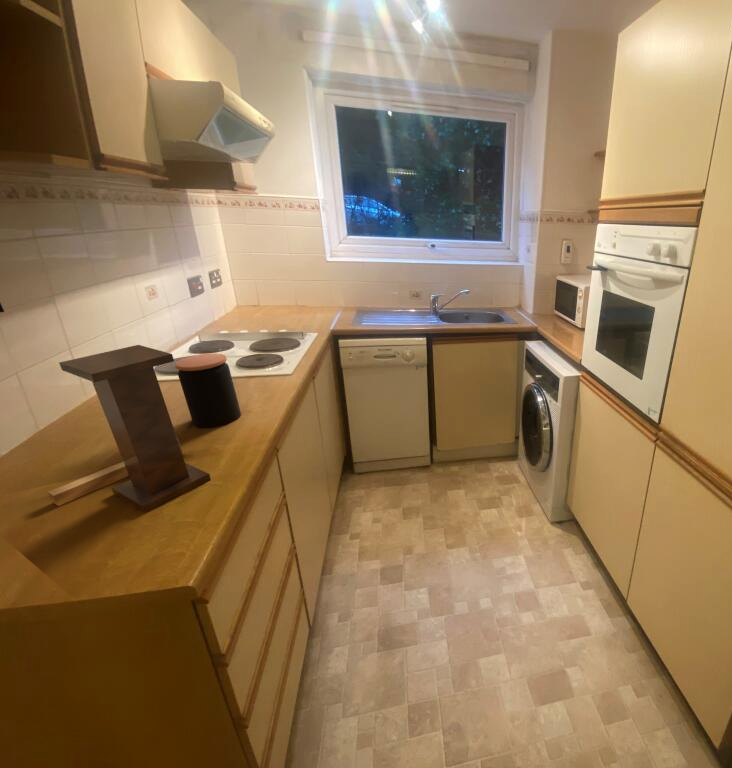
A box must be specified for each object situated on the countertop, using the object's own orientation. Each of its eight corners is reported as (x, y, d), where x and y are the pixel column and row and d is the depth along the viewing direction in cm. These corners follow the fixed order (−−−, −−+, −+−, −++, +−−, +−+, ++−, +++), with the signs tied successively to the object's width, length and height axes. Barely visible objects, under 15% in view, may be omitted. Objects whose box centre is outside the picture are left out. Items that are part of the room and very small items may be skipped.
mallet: (64, 510, 82) (54, 489, 80) (46, 498, 85) (35, 477, 83) (184, 457, 99) (178, 438, 97) (165, 449, 102) (159, 430, 100)
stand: (145, 512, 82) (91, 374, 71) (113, 494, 87) (58, 362, 76) (211, 479, 91) (172, 353, 81) (179, 464, 96) (138, 344, 86)
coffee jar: (249, 413, 120) (233, 352, 113) (232, 432, 110) (214, 366, 103) (206, 416, 118) (188, 354, 111) (186, 435, 108) (165, 368, 102)
